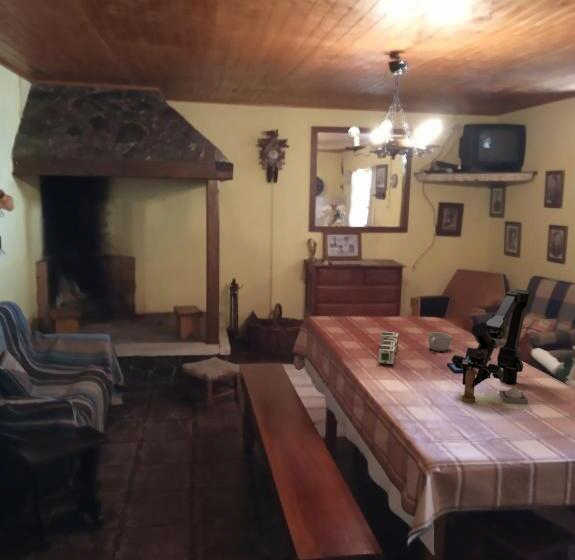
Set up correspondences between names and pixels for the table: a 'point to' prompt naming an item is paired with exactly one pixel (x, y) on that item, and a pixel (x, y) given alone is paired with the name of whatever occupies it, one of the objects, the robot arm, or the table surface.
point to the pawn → (469, 388)
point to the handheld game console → (457, 368)
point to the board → (498, 401)
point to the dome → (513, 393)
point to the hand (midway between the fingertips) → (467, 385)
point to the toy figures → (388, 347)
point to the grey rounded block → (439, 341)
